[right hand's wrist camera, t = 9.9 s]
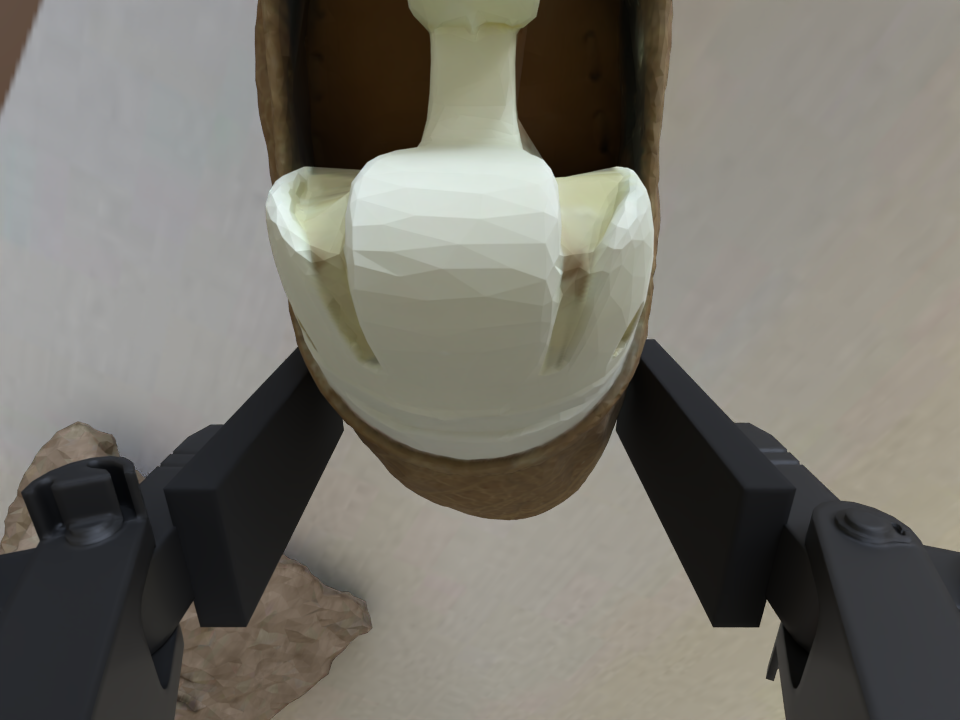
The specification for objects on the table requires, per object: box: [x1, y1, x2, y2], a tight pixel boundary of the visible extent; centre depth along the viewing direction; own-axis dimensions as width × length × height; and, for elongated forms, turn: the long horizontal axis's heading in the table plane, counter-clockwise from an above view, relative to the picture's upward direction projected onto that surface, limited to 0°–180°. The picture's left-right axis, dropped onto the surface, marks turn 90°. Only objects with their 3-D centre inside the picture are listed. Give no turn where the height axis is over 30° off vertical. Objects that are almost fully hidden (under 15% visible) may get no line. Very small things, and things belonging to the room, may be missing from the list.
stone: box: [0, 422, 372, 720], centre depth 31 cm, size 21×15×6 cm
